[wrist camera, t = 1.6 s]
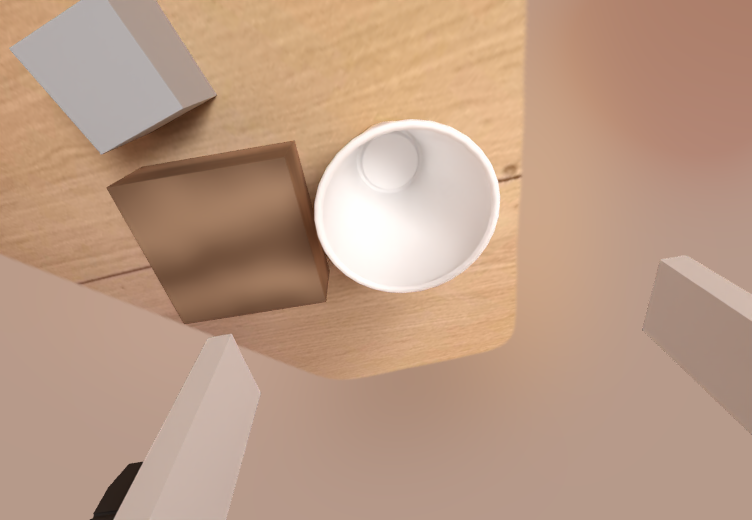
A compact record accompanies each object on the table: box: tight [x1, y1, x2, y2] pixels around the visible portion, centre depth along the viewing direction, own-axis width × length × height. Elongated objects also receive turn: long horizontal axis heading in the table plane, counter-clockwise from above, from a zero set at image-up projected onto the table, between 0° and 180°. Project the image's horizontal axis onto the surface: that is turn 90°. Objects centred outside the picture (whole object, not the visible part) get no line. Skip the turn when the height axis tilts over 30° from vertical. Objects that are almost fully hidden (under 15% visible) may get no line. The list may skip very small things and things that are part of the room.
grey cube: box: [9, 0, 217, 155], centre depth 22 cm, size 6×6×6 cm
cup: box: [314, 119, 500, 293], centre depth 24 cm, size 10×10×11 cm
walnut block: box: [107, 141, 329, 324], centre depth 29 cm, size 12×12×5 cm
